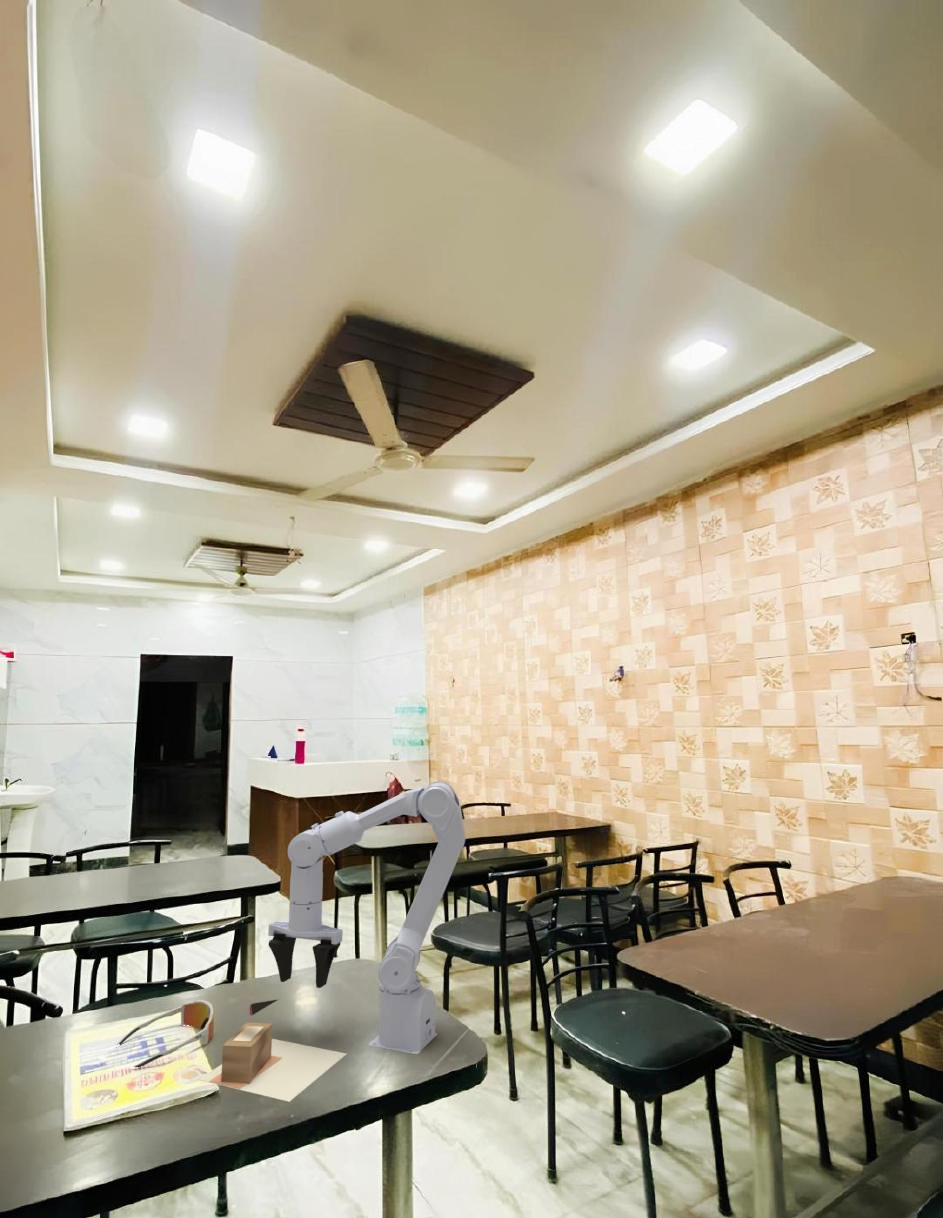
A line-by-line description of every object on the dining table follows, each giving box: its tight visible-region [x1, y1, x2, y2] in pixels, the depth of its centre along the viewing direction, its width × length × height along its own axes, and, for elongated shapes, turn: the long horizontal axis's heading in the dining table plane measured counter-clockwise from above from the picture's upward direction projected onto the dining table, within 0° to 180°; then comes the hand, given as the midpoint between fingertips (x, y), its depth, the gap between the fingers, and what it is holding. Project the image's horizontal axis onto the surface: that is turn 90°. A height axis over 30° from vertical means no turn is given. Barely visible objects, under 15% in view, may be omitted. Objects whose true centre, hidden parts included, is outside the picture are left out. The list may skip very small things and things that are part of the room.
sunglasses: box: [116, 999, 215, 1068], centre depth 113 cm, size 14×15×5 cm
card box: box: [221, 1022, 273, 1083], centre depth 103 cm, size 8×4×5 cm, turn 174°
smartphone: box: [249, 998, 279, 1016], centre depth 122 cm, size 7×1×15 cm
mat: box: [197, 1038, 347, 1103], centre depth 103 cm, size 17×15×1 cm
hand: (303, 982), depth 114 cm, fingers open, 7 cm apart
